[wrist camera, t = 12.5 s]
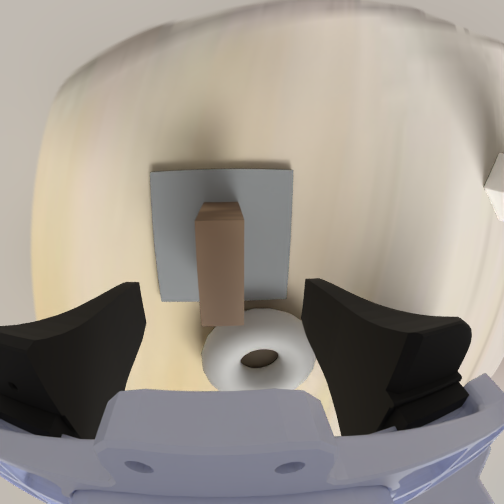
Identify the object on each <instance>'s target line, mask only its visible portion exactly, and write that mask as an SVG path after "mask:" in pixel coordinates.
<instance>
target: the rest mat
mask: <svg viewBox="0 0 504 504" xmlns="http://www.w3.org/2000/svg"><path fill="white" fill-rule="evenodd" d="M150 183H151V204H152V220H153V233H154V244H155V254H156V263H157V272H158V280H159V287H160V294H161V301H162V302H199V289H198V275H197V260H196V242H195V219H196V217H197V215H198V213H199V211H200V209H201V207H202V205H203V203H204V202H238V203H239V206H240V209H241V212H242V214H243V217H244V301H245V300H271V299H286V298H287V285H288V270H289V255H290V238H291V218H292V195H293V170H279V169H200V170H177V171H160V172H150Z"/></svg>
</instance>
